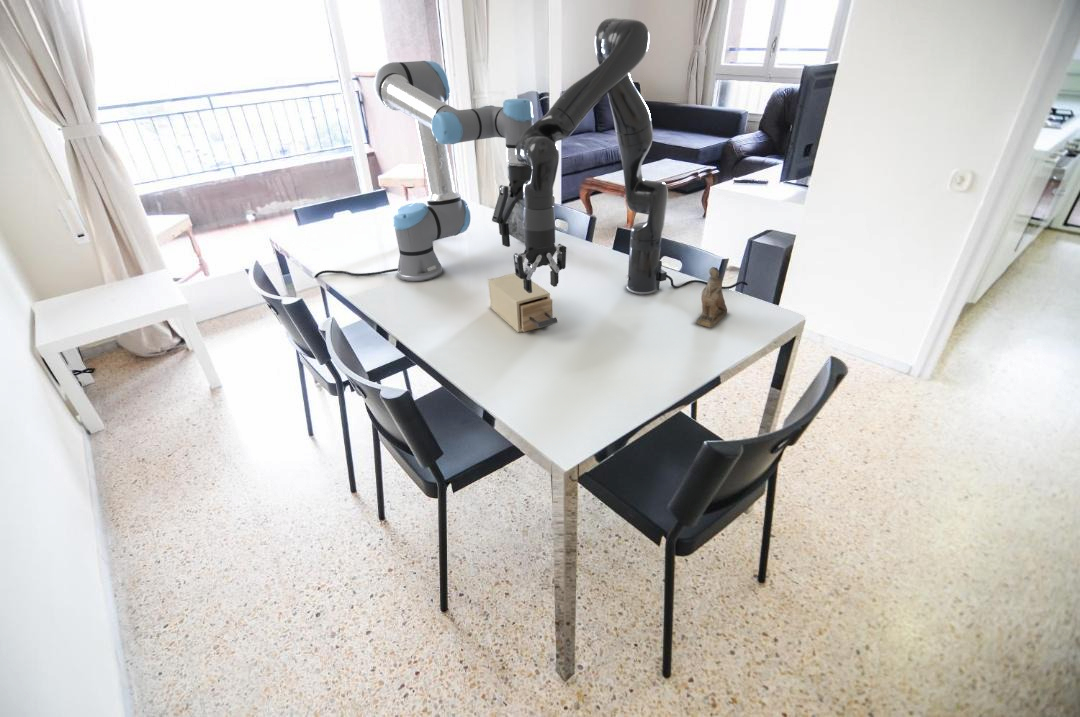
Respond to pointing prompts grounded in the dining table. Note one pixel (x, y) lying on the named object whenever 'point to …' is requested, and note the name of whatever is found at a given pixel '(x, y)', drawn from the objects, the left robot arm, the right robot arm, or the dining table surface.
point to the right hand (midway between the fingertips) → (541, 288)
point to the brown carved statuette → (712, 301)
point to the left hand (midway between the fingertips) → (525, 240)
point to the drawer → (536, 314)
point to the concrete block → (518, 220)
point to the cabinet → (512, 297)
